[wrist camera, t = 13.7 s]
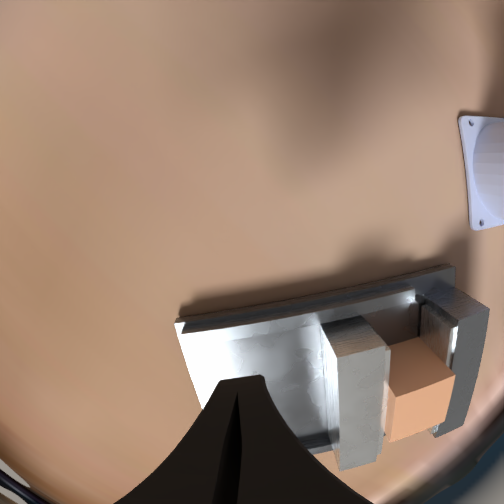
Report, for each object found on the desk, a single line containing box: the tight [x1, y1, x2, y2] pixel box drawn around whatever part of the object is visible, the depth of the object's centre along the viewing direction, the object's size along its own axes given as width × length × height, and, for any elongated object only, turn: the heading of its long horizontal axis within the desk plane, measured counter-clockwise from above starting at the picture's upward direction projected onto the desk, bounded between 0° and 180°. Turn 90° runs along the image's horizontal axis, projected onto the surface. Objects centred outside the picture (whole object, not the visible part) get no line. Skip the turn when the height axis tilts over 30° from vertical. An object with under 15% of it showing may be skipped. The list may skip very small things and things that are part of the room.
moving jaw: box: [320, 315, 391, 471], centre depth 17 cm, size 3×10×4 cm, turn 10°
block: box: [384, 337, 455, 442], centre depth 17 cm, size 4×4×5 cm
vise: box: [174, 264, 490, 455], centre depth 18 cm, size 18×13×5 cm
